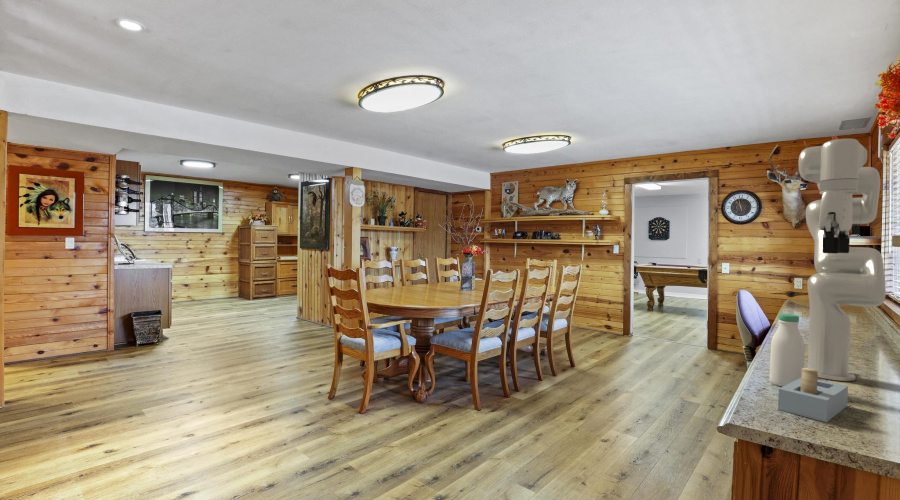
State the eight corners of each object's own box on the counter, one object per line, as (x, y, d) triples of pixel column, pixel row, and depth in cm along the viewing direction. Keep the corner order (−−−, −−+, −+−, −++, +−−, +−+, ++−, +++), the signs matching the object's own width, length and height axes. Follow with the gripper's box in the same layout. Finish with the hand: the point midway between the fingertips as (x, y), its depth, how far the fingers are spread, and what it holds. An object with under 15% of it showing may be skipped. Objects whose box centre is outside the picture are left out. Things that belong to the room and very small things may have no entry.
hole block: (802, 395, 116) (802, 376, 115) (847, 406, 108) (848, 385, 108) (777, 409, 105) (778, 388, 105) (826, 422, 98) (827, 400, 98)
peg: (801, 408, 106) (803, 367, 106) (817, 412, 104) (819, 370, 103) (797, 410, 104) (799, 369, 104) (813, 415, 102) (815, 372, 102)
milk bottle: (809, 390, 120) (812, 317, 119) (778, 388, 121) (780, 316, 121) (793, 381, 127) (796, 313, 127) (763, 379, 129) (766, 311, 128)
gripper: (829, 191, 122) (827, 252, 123) (809, 186, 112) (807, 252, 113) (865, 189, 116) (863, 253, 117) (848, 183, 106) (845, 254, 107)
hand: (835, 253), depth 115 cm, fingers open, 9 cm apart
